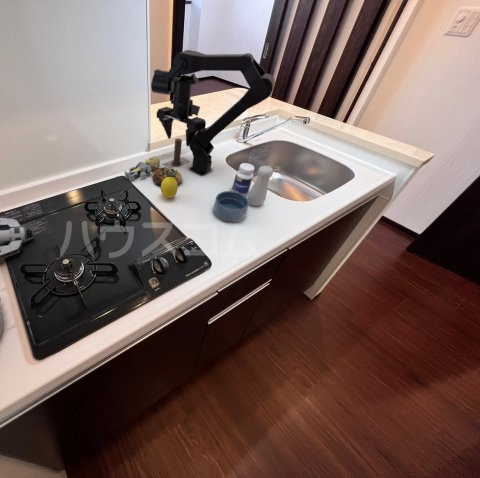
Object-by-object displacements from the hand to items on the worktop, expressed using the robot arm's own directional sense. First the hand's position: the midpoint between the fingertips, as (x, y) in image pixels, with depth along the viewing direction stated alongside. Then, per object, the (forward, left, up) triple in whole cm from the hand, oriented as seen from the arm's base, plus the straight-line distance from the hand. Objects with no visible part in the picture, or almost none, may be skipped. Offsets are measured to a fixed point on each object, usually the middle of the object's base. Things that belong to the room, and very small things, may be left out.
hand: (178, 142), depth 98 cm
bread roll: (+6, -12, -9) cm, 16 cm away
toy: (-5, -22, -8) cm, 24 cm away
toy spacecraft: (-5, -74, -10) cm, 75 cm away
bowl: (+32, -12, -9) cm, 36 cm away
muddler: (0, 0, -9) cm, 9 cm away
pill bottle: (+28, +1, -9) cm, 30 cm away
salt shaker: (+35, -1, -9) cm, 37 cm away
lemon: (+13, -20, -9) cm, 25 cm away
